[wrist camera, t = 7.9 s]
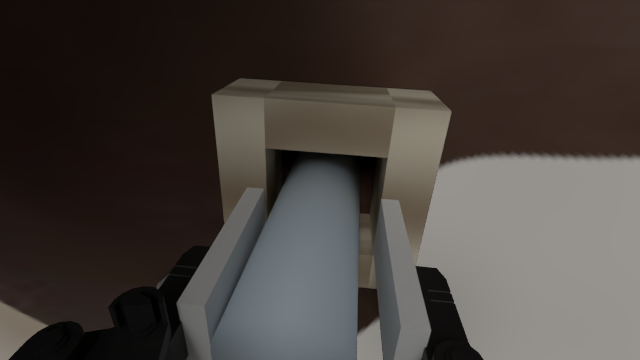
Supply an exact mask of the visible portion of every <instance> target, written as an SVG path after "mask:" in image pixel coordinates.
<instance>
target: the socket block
mask: <svg viewBox="0 0 640 360" xmlns="http://www.w3.org/2000/svg"><path fill="white" fill-rule="evenodd" d="M212 105H213V115H214V125H215V135H216V145H217V155H218V165H219V175H220V185H221V195H222V205H223V215H224V224H225V223H226V221H227V220H228V218H229V216H230V215H231V213H232V211H233V210H234V208H235V206H236V205H237V203H238V202H239V200H240V198H241V197H242V195H243V193H244V192H245V190H246V188H247V187H250V188H262V189H264V201H265V223H266V221H267V219H268V217H269V215H270V212H271V210H272V208H273V206H274V204H275V202H276V200H277V197H278V195H279V193H280V191H281V189H282V150H294V151H306V152H319V153H332V154H344V155H357V156H370V157H377V162H376V169H375V177H374V184H373V191H372V198H371V206H370V213H369V214H363V213H359V264H358V287H363V288H372V289H377V284H376V273H375V261H374V250H373V248H374V242H375V235H376V229H377V222H378V216H379V209H380V203H381V199H390V200H399V203H400V207H401V211H402V215H403V219H404V223H405V227H406V231H407V235H408V239H409V243H410V247H411V251H412V255H413V259H414V263H415V266H416V262H417V257H418V253H419V249H420V244H421V240H422V236H423V231H424V227H425V223H426V219H427V214H428V210H429V206H430V201H431V197H432V193H433V189H434V184H435V180H436V176H437V172H438V167H439V163H440V159H441V154H442V150H443V146H444V142H445V137H446V133H447V129H448V125H449V120H450V116H451V112H452V111H451V110H450V109H449V108H448V107H447V106H446V105H445V104H444V103H442V102H441V101H440V100H439V99H438V98H437V97H436V96H435V95H434V94H433V93H432V92H431V91H423V90H408V89H393V88H378V87H363V86H348V85H333V84H318V83H303V82H288V81H273V80H258V79H243V78H240V79H238V80H236V81H235V82H233V83H231V84H229V85H227V86H226V87H224V88H222V89H220V90H219V91H217V92H215V93H213V94H212Z"/></svg>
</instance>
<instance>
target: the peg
mask: <svg viewBox="0 0 640 360" xmlns="http://www.w3.org/2000/svg"><path fill="white" fill-rule="evenodd" d="M359 213H360V166H359V163H358V160H357V158H356V157H355V155H344V154H332V153H319V152H306V151H300V152H299V153H298V155H297V157H296V158H295V161H294V163H293V165H292V167H291V169H290V171H289V174H288V176H287V178H286V180H285V182H284V184H283V187H282V189H281V191H280V193H279V195H278V197H277V200H276V202H275V204H274V206H273V208H272V210H271V212H270V215H269V217H268V219H267V221H266V223H265V225H264V228H263V230H262V232H261V234H260V236H259V238H258V241H257V243H256V245H255V247H254V249H253V251H252V254H251V256H250V258H249V260H248V262H247V264H246V267H245V269H244V271H243V273H242V275H241V277H240V279H239V282H238V284H237V286H236V288H235V290H234V292H233V295H232V297H231V299H230V301H229V303H228V305H227V308H226V310H225V312H224V314H223V316H222V318H221V321H220V323H219V325H218V327H217V329H216V331H215V334H214V336H213V338H212V341H211V347H210V350H211V357H212V360H357V315H358V264H359Z"/></svg>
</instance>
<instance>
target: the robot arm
mask: <svg viewBox="0 0 640 360" xmlns="http://www.w3.org/2000/svg"><path fill="white" fill-rule="evenodd" d="M264 225H265V201H264V189H262V188H250V187H247V188H246V190H245V192H244V193H243V195H242V197H241V198H240V200H239V202H238V203H237V205H236V206H235V208H234V210H233V211H232V213H231V215H230V216H229V218H228V220H227V221H226V223H225V224H224V226H223V228H222V229H221V231H220V233H219V234H218V236H217V238H216V239H215V241H214V242H213V244H212V246H211V247H204V246H194V247H192V248H191V249H190V250H188V251H187V252H185V253H184V254H183V255H182V256H181V258H180V259H179V261H178V262H177V263H176V266H175V267H174V268H173V269H172V271H171V272H170V274H169V276H167V278H166V279H165V280H164V282H163V283H162V285H161V286H160V287H159V289H157V288H154V287H146V286H143V287H138V288H133V289H131V290H129V291H127V292H124V293H123V294H121V295H120V296H119V297H117V298H116V299H115V300H114V301H113V302H112V303H111V305H110V306H109V307H108V308H109V311H110V314H111V317H112V320H113V323H114V326H115V327H113V328H109V329H103V330H97V331H91V332H85V333H84V330H83V328H82V327H81V326H80V324H79V323H75V322H72V321H67V322H59V323H56V324H53V325H50V326H48V327H46V328H44V329H42V330H40V331H38V332H37V333H36V334H34V335H33V336H32V337H31V338H30V339H28V340H27V341H26V342H25V343H24V344H23V345H22V347H20V348H19V349H18V351H16V352H15V353H14V354H13V356H12V357H11V358H10V359H9V360H186V359H187V357H188V360H212V357H211V350H210V347H211V341H212V338H213V336H214V334H215V331H216V329H217V327H218V325H219V323H220V321H221V318H222V316H223V314H224V312H225V310H226V308H227V305H228V303H229V301H230V299H231V297H232V295H233V292H234V290H235V288H236V286H237V284H238V282H239V279H240V277H241V275H242V273H243V271H244V269H245V267H246V264H247V262H248V260H249V258H250V256H251V254H252V251H253V249H254V247H255V245H256V243H257V241H258V238H259V236H260V234H261V232H262V230H263V228H264ZM373 250H374V261H375V273H376V284H377V295H378V306H379V318H380V329H381V340H382V351H383V360H483V358H482V357H481V355H480V354H479V353H478V352H477V351H476V350H474V349H473V348H472V347H471V346H470V344H469V343H468V340H467V337H466V334H465V331H464V328H463V326H462V323H461V320H460V317H459V314H458V311H457V309H456V306H455V304H454V300H453V298H452V294H450V289H449V286H448V283H447V280H446V279H445V278H444V276H443V275H442V274H441V273H440V272H439V270H438V269H437V268H430V267H429V268H428V267H419V266H415V263H414V259H413V255H412V251H411V247H410V243H409V239H408V235H407V231H406V227H405V223H404V219H403V215H402V211H401V207H400V203H399V200H390V199H381V203H380V209H379V216H378V222H377V229H376V235H375V242H374V248H373Z"/></svg>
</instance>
